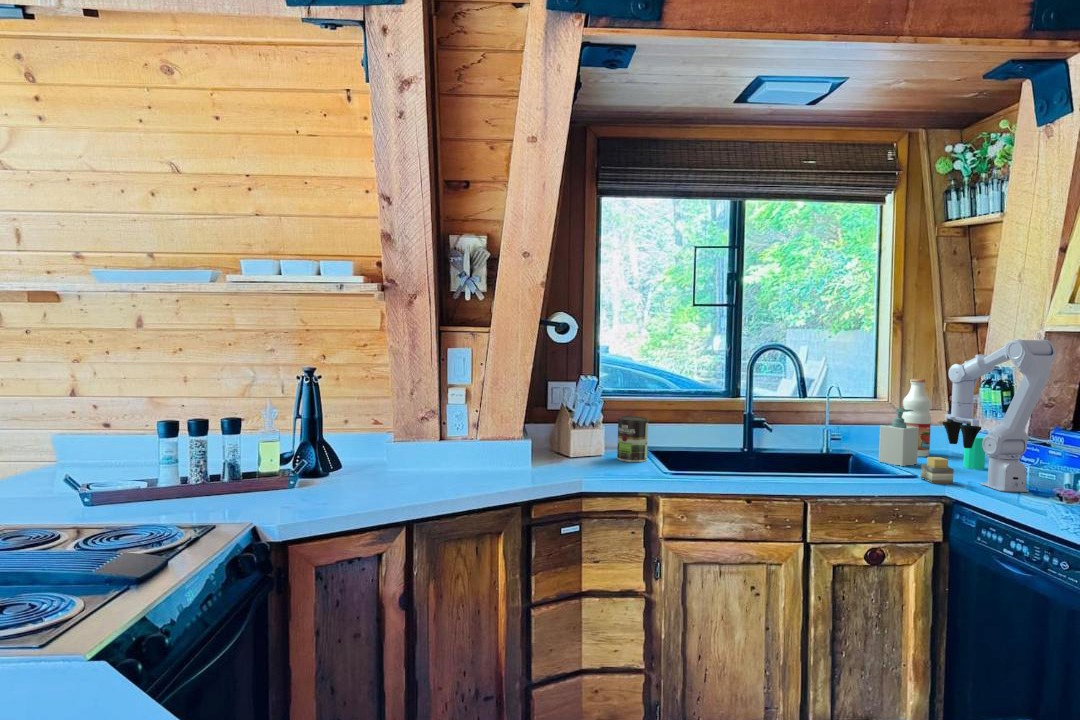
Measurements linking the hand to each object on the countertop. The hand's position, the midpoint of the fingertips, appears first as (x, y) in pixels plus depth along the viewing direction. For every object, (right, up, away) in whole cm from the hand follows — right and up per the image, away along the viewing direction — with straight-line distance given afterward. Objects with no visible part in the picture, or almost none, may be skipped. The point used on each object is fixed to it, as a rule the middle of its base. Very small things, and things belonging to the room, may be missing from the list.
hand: (960, 445), depth 215 cm
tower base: (-13, -10, -9) cm, 18 cm away
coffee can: (-101, -7, +18) cm, 103 cm away
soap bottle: (-10, -9, +19) cm, 23 cm away
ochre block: (-12, -7, -9) cm, 17 cm away
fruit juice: (+6, -8, +38) cm, 39 cm away
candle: (+13, -9, +14) cm, 21 cm away
